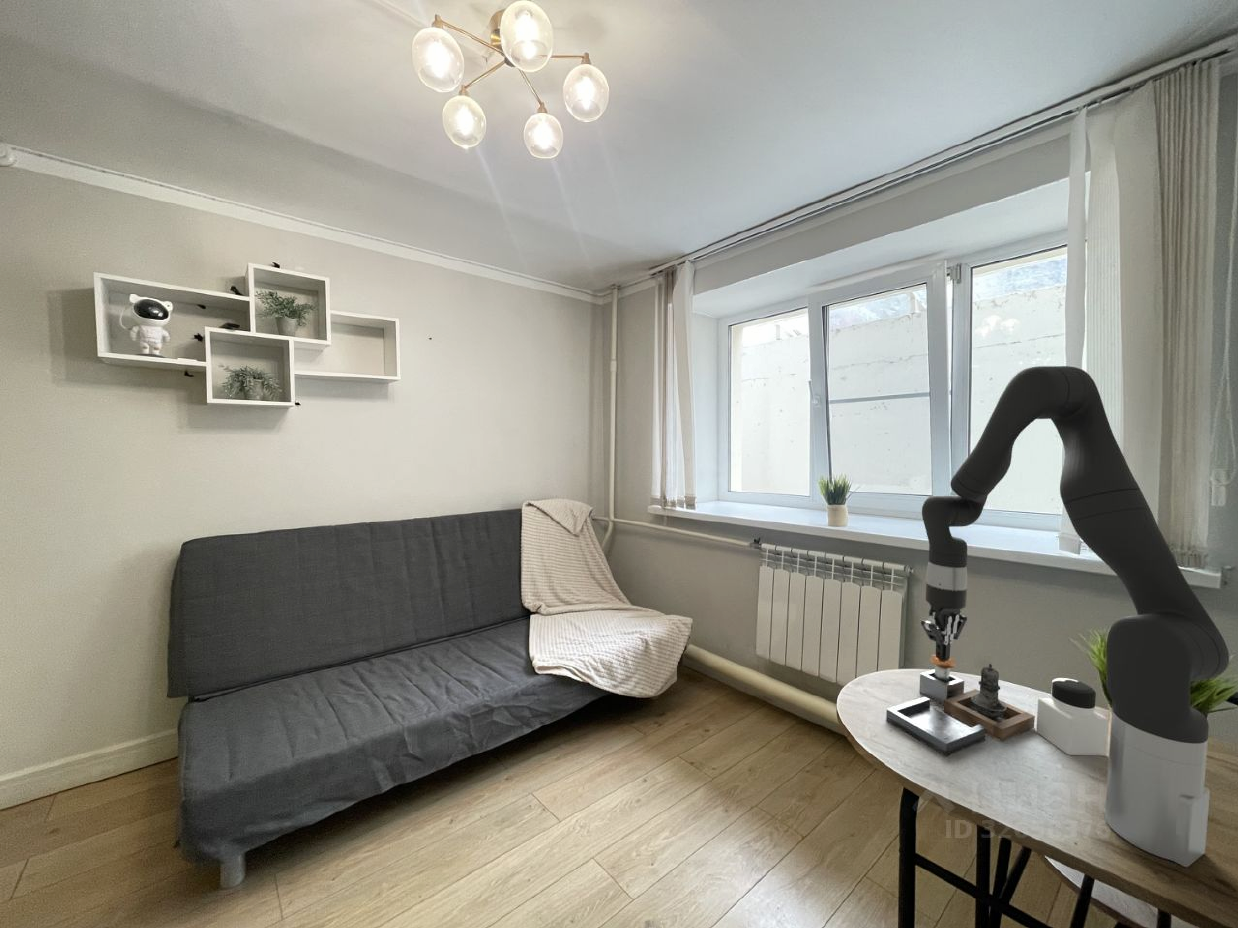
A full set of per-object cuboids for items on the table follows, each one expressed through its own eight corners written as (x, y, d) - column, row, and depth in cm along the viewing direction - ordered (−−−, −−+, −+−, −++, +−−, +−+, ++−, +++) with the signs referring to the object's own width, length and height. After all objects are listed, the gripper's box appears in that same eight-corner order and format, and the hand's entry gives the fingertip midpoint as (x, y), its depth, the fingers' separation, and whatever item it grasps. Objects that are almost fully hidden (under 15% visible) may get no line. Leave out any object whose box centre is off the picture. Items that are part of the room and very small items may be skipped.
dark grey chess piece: (968, 708, 103) (971, 654, 102) (1002, 716, 100) (1005, 661, 99) (971, 722, 98) (974, 665, 97) (1008, 731, 95) (1011, 673, 94)
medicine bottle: (1107, 756, 87) (1111, 693, 87) (1068, 755, 88) (1072, 693, 87) (1071, 732, 95) (1075, 674, 94) (1035, 731, 95) (1038, 673, 94)
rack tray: (985, 740, 92) (986, 727, 92) (945, 756, 87) (946, 743, 87) (924, 707, 103) (924, 696, 103) (886, 720, 98) (886, 708, 98)
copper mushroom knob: (957, 691, 106) (959, 661, 106) (945, 695, 104) (946, 664, 104) (937, 681, 110) (939, 652, 110) (925, 685, 108) (926, 656, 108)
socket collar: (1034, 727, 96) (1034, 715, 96) (1001, 741, 92) (1002, 729, 91) (975, 699, 106) (975, 689, 106) (943, 711, 102) (944, 699, 101)
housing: (963, 699, 106) (964, 680, 106) (946, 705, 103) (947, 686, 103) (936, 686, 111) (937, 668, 111) (919, 692, 109) (920, 673, 109)
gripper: (944, 592, 100) (940, 671, 101) (982, 584, 105) (978, 660, 106) (910, 582, 107) (907, 656, 108) (947, 575, 112) (944, 646, 113)
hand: (942, 658), depth 107 cm, fingers closed
